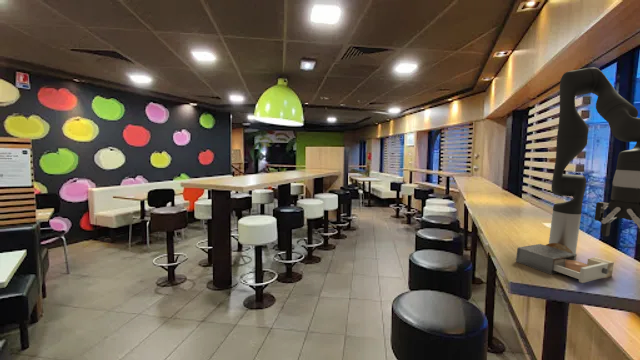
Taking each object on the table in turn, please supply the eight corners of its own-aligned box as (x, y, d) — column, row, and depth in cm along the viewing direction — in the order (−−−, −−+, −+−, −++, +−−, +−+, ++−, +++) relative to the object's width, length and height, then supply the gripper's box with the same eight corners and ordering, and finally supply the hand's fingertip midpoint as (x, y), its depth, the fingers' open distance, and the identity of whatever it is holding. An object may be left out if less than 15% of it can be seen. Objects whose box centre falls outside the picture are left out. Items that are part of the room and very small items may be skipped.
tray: (564, 263, 108) (566, 251, 108) (609, 278, 96) (611, 264, 96) (541, 268, 103) (542, 255, 102) (586, 284, 91) (588, 270, 90)
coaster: (591, 272, 98) (592, 265, 97) (581, 274, 95) (582, 267, 95) (570, 265, 103) (571, 259, 103) (560, 267, 101) (561, 261, 100)
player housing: (538, 257, 116) (540, 243, 116) (574, 269, 105) (576, 254, 105) (515, 261, 111) (517, 247, 110) (551, 274, 100) (553, 258, 99)
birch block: (593, 270, 105) (595, 257, 104) (611, 276, 100) (613, 262, 100) (586, 272, 103) (587, 258, 102) (604, 278, 98) (606, 264, 98)
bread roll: (556, 271, 112) (569, 257, 108) (531, 252, 120) (543, 238, 116) (570, 268, 116) (583, 254, 112) (546, 250, 124) (557, 235, 120)
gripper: (672, 188, 81) (662, 245, 83) (606, 182, 95) (599, 232, 96) (659, 189, 78) (650, 248, 80) (593, 182, 92) (586, 233, 93)
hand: (622, 239), depth 88 cm, fingers open, 7 cm apart
